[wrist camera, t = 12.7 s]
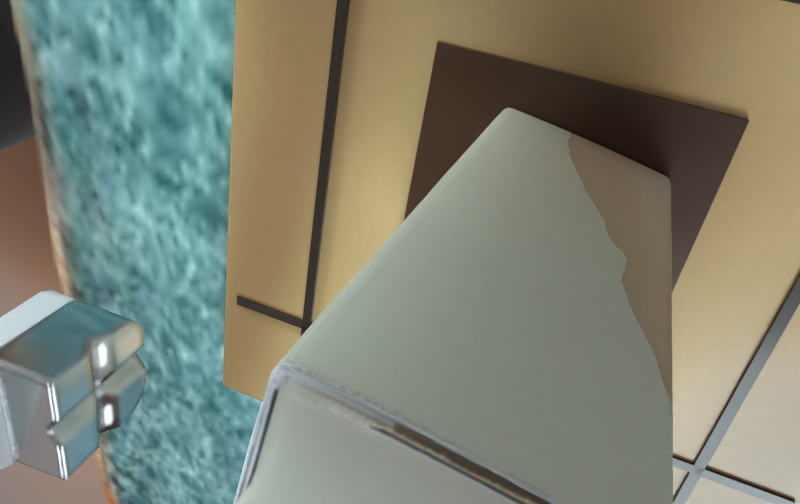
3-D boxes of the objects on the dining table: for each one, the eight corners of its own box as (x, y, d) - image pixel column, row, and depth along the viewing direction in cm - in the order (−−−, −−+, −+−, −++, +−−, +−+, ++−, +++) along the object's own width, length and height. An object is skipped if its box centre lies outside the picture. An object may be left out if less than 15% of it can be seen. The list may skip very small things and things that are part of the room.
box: (579, 337, 18) (476, 807, 9) (432, 267, 18) (188, 636, 9) (682, 166, 15) (694, 594, 6) (505, 90, 16) (258, 366, 6)
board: (244, 361, 25) (219, 388, 24) (281, -325, 15) (241, -348, 14) (744, 557, 21) (748, 603, 20) (1259, -195, 11) (1344, -209, 10)
